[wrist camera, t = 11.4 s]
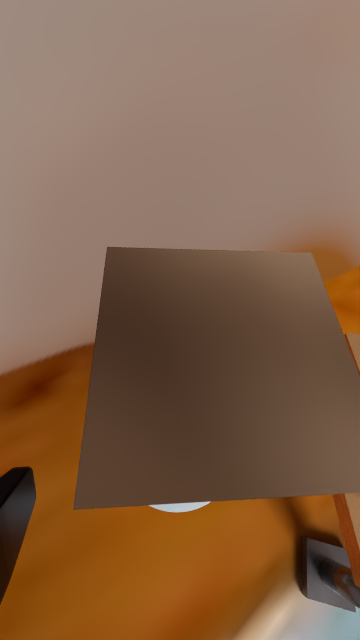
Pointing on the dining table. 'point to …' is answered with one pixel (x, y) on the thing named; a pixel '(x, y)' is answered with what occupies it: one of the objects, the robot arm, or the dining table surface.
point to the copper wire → (330, 560)
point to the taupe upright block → (217, 382)
